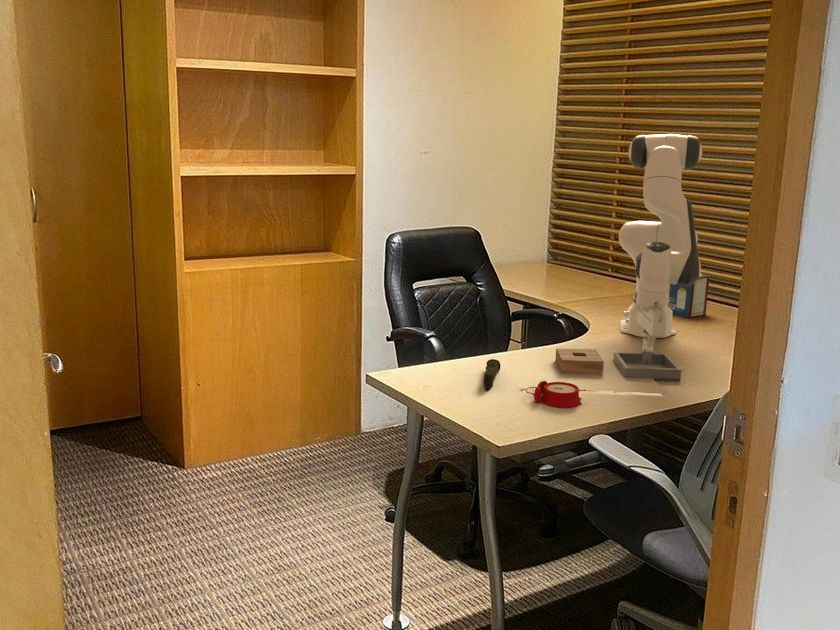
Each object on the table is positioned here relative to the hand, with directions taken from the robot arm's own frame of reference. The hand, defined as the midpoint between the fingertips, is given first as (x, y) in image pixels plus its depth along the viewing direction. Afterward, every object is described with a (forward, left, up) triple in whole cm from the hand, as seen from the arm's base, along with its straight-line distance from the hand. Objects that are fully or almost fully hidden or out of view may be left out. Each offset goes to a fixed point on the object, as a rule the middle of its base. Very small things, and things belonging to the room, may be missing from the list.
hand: (648, 344), depth 243 cm
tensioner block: (0, -20, -8) cm, 22 cm away
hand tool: (+12, -46, -9) cm, 49 cm away
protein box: (-77, +33, -9) cm, 84 cm away
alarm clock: (+27, -31, -9) cm, 42 cm away
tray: (0, 0, -8) cm, 9 cm away
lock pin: (0, 0, -6) cm, 6 cm away
